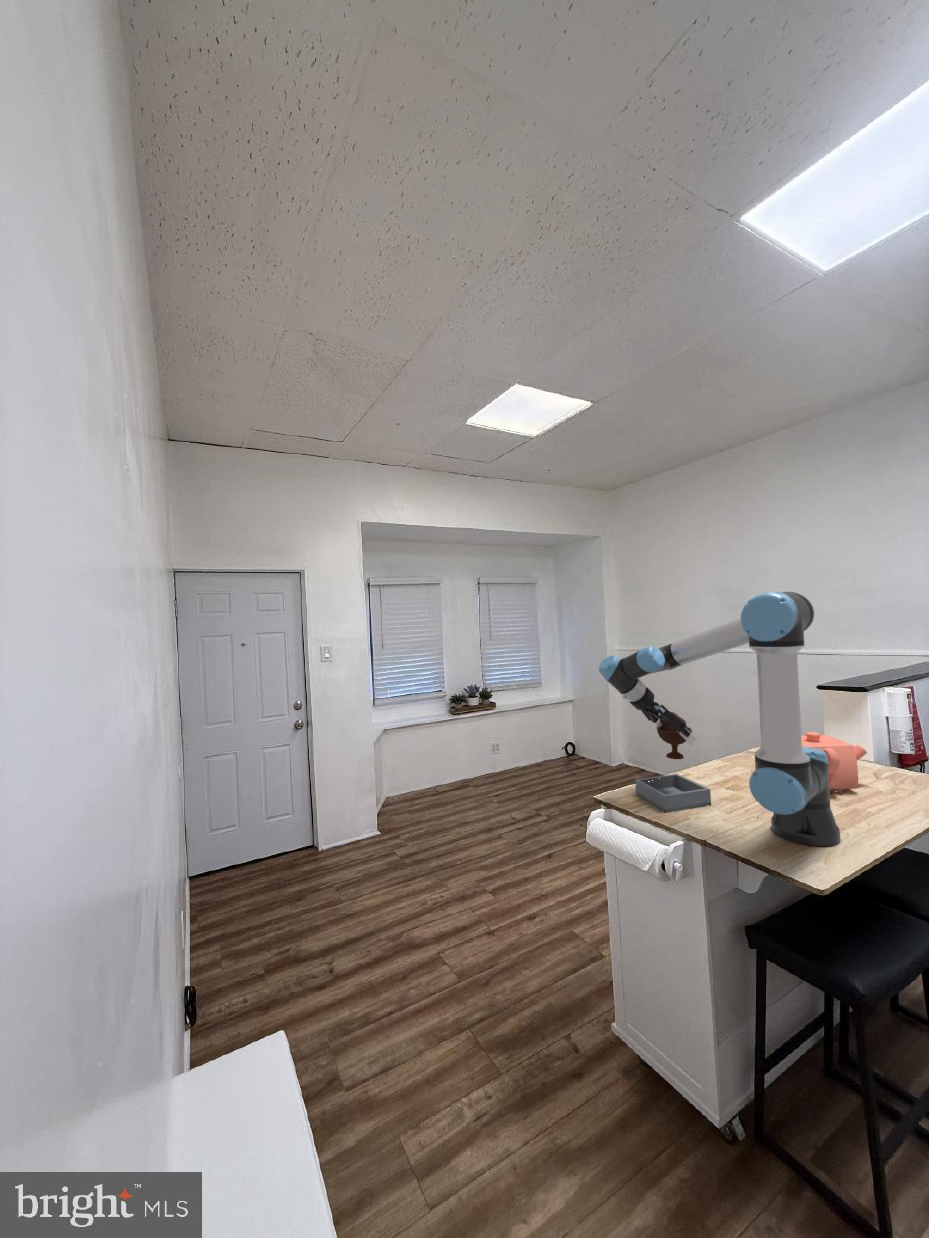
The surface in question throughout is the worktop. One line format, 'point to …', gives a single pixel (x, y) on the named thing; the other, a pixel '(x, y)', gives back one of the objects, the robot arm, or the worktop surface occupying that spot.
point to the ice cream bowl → (672, 737)
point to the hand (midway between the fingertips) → (681, 737)
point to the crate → (673, 792)
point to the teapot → (837, 759)
